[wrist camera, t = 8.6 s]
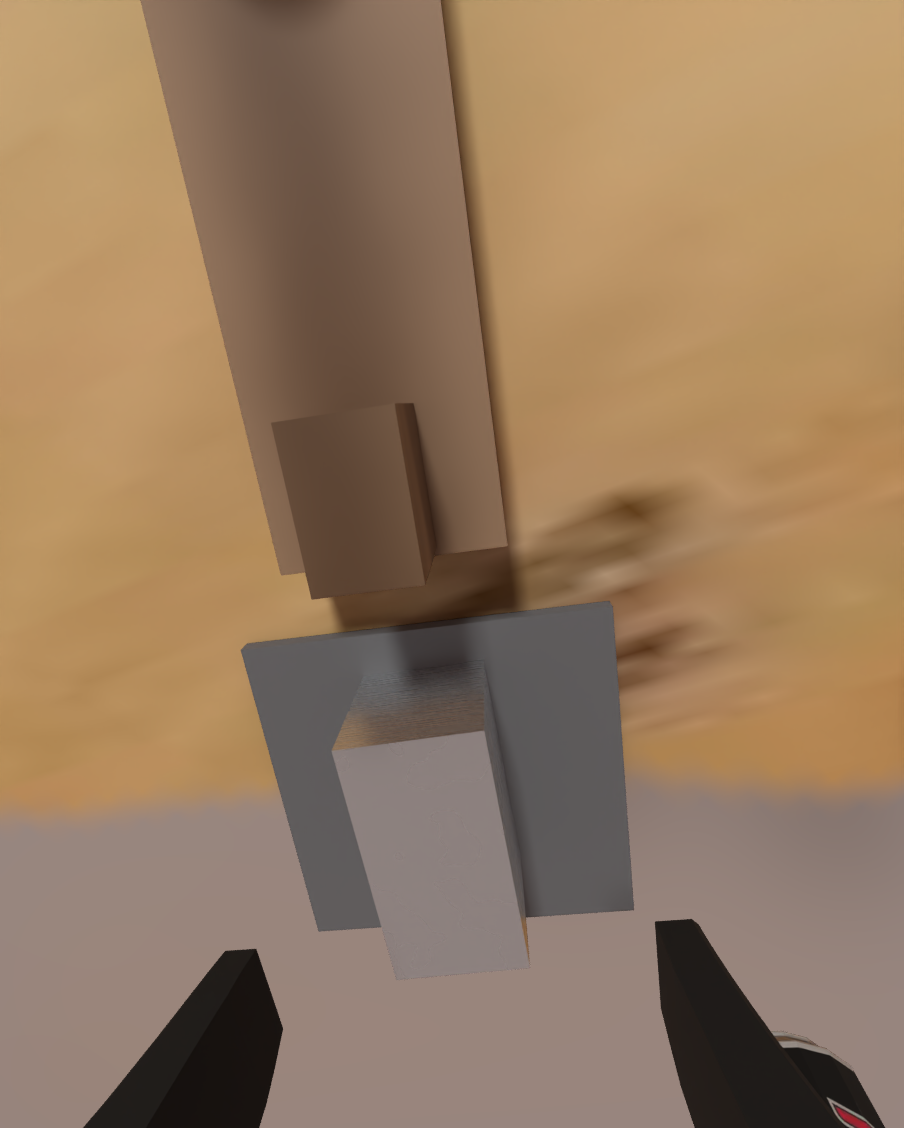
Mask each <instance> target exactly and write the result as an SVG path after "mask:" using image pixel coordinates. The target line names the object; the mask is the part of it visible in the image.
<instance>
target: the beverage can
mask: <svg viewBox="0 0 904 1128" xmlns="http://www.w3.org/2000/svg"><path fill="white" fill-rule="evenodd" d="M771 1033H772V1034H773V1035H774V1037H775V1038H776V1039H777V1041H778V1042H779V1043H780V1045H781V1046H782V1047H783V1048H784V1050H785V1051H786V1052H787V1054H788V1055H789V1056H790V1058H791V1059H792V1060H793V1062H794V1063H795V1064H796V1066H797V1067H798V1068H799V1070H800V1071H801V1072H802V1074H803V1075H804V1076H805V1078H806V1079H807V1080H808V1081H809V1083H810V1084H811V1085H812V1086H813V1088H814V1089H815V1090H816V1092H817V1093H818V1094H819V1095H820V1097H821V1098H822V1099H823V1100H824V1102H825V1103H826V1104H827V1106H828V1107H829V1108H830V1109H831V1111H832V1112H833V1113H834V1114H835V1115H836V1117H837V1118H838V1119H839V1120H840V1122H841V1123H842V1124H843V1125H844V1126H845V1128H885V1127H884V1125H883V1123H882V1121H881V1120H880V1118H879V1116H878V1114H877V1112H876V1110H875V1109H874V1107H873V1105H872V1103H871V1102H870V1100H869V1098H868V1096H867V1095H866V1092H865V1091H864V1089H863V1087H862V1085H861V1083H860V1082H859V1080H858V1078H857V1076H856V1074H855V1073H854V1071H853V1069H852V1067H851V1066H850V1065H849V1064H847V1063H846V1062H845V1061H843V1060H842V1059H840V1058H839V1057H838V1056H836V1055H835V1054H833V1053H832V1052H830V1051H829V1050H827V1049H826V1048H823V1047H819V1046H818V1045H816V1044H815V1043H813V1042H812V1041H811V1040H809V1039H808V1038H806V1037H802V1036H799V1035H795V1034H791V1033H787V1032H783V1031H771Z"/></svg>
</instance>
